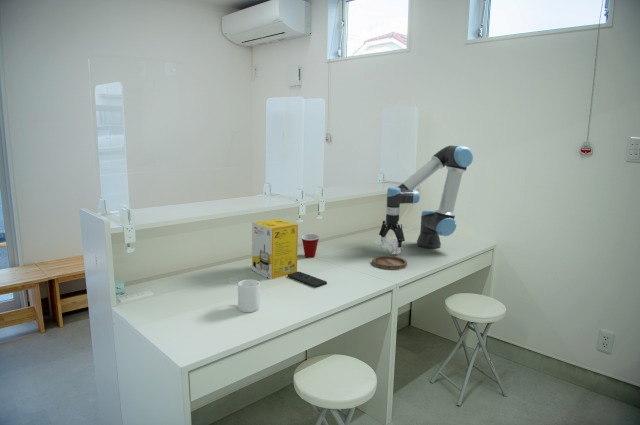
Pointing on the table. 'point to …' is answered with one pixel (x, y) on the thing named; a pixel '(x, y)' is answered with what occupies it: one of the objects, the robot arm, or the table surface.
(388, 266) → the coaster
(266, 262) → the packaging box
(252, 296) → the mug
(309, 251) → the plastic cup
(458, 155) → the robot arm
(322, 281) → the smart home device
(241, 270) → the table surface
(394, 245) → the white piece
